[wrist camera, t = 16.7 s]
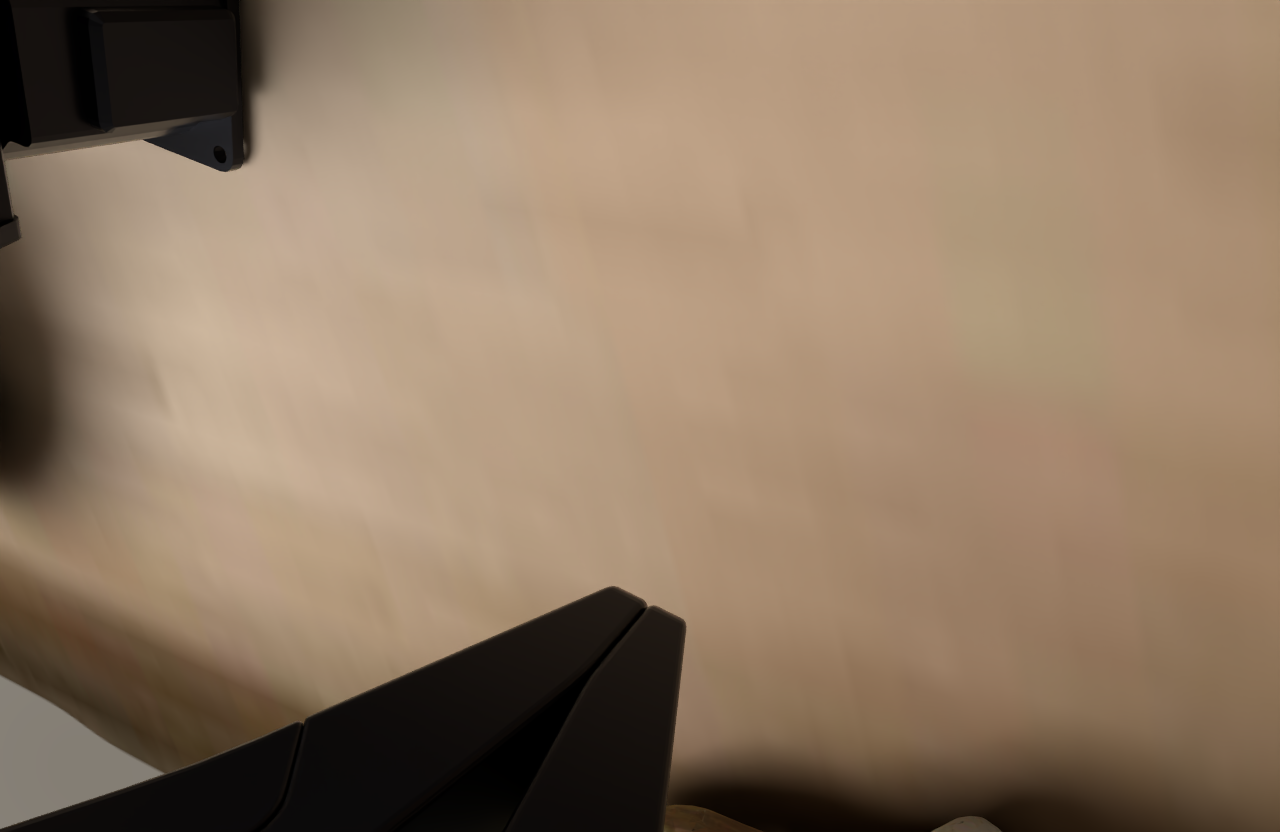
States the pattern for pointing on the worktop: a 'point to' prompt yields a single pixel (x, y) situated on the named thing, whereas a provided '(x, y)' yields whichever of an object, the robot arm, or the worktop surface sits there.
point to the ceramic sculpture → (703, 828)
